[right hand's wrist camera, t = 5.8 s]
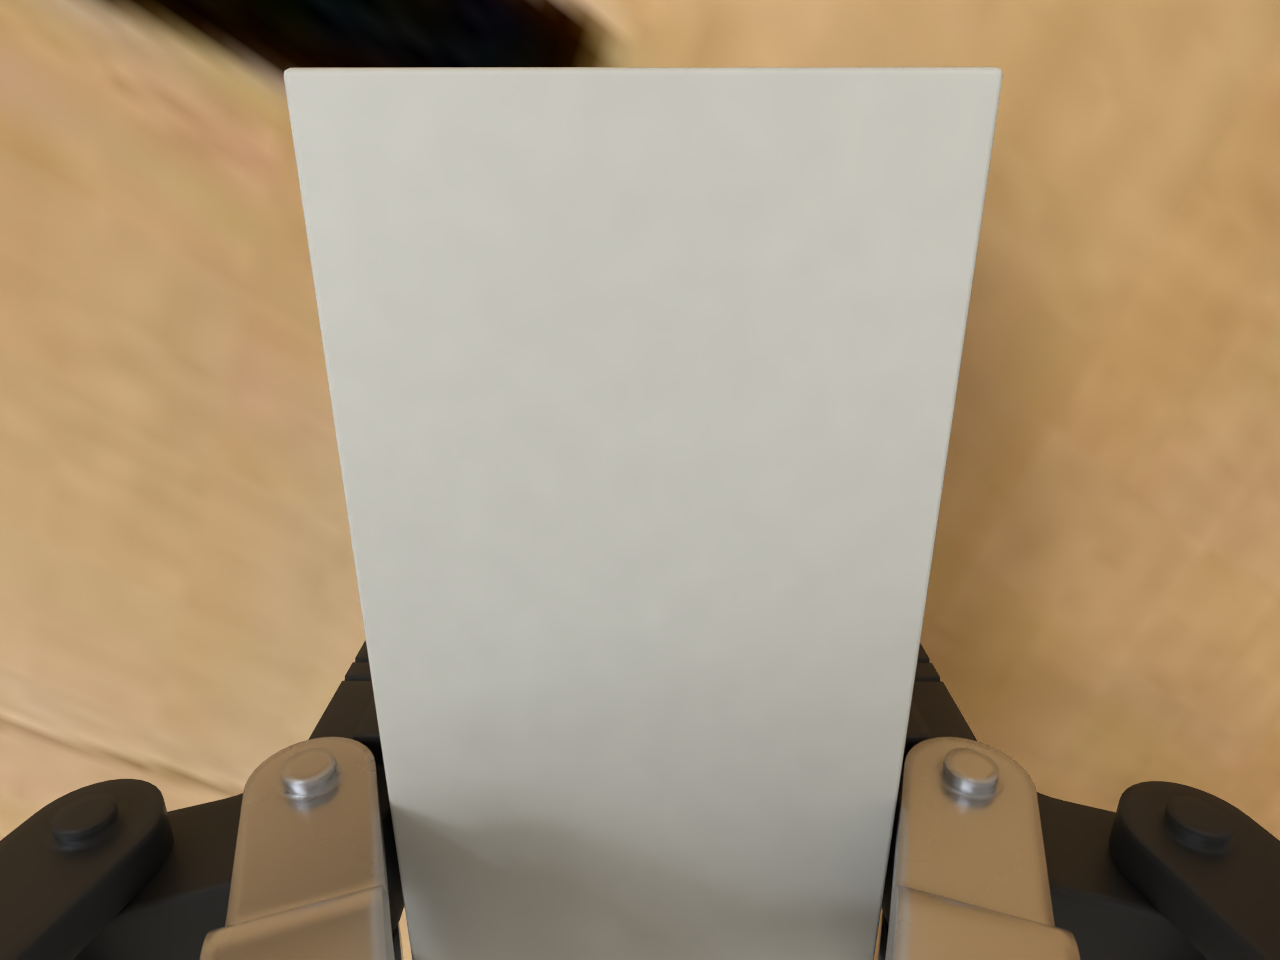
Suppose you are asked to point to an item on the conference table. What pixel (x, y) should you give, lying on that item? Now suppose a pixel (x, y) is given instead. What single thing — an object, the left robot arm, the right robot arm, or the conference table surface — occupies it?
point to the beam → (643, 480)
